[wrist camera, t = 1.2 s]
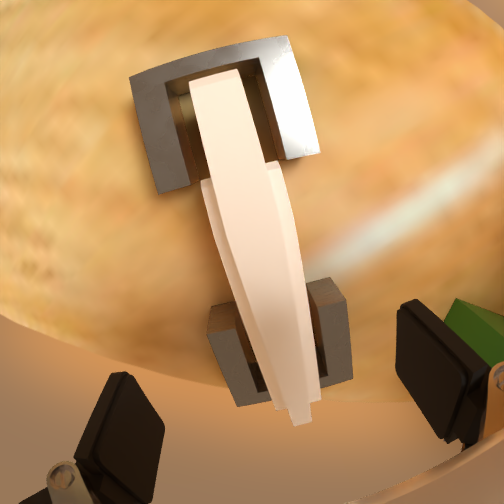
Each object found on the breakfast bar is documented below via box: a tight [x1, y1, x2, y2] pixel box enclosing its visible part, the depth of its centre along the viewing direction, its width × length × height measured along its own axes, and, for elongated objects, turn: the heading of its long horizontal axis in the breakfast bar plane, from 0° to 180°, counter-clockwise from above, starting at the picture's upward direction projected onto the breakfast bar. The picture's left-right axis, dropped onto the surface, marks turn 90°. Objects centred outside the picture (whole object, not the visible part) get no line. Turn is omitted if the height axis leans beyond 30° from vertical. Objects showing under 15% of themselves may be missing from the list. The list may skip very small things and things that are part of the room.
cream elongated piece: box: [189, 69, 321, 426], centre depth 24 cm, size 6×25×13 cm, turn 14°
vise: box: [129, 35, 353, 407], centre depth 24 cm, size 12×31×5 cm, turn 14°
